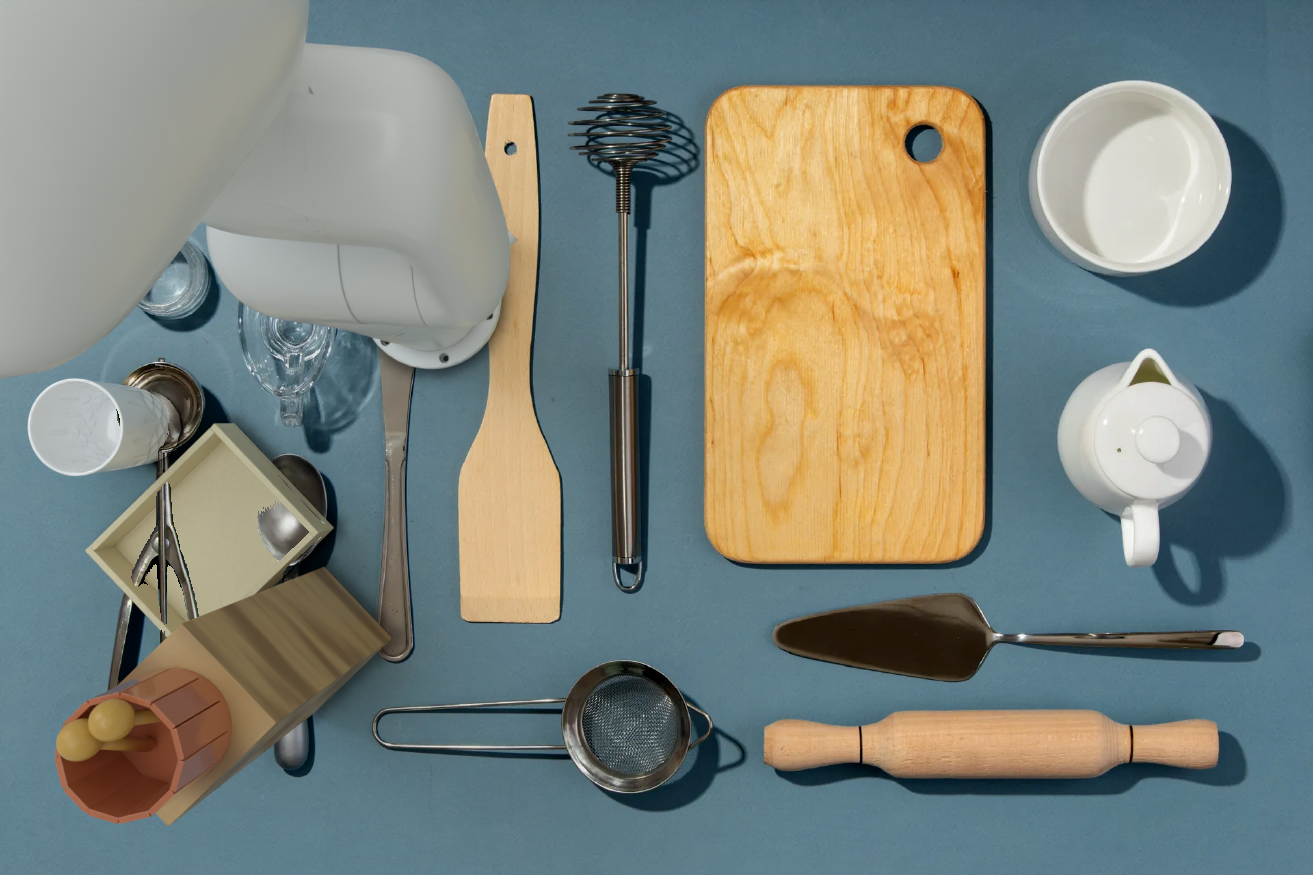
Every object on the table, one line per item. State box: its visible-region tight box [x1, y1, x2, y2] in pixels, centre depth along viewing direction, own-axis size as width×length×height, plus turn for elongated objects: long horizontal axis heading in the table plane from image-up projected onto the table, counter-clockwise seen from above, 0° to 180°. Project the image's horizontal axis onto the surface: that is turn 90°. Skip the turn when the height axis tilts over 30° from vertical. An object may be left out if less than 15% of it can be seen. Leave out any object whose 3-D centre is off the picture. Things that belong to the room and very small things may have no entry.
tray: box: [84, 422, 334, 638], centre depth 83 cm, size 16×13×4 cm
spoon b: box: [55, 719, 155, 762], centre depth 57 cm, size 2×2×8 cm
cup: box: [53, 668, 232, 825], centre depth 58 cm, size 8×8×6 cm
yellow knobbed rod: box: [88, 699, 162, 742], centre depth 57 cm, size 2×2×8 cm
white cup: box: [27, 377, 171, 477], centre depth 80 cm, size 8×8×10 cm
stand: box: [117, 566, 392, 827], centre depth 73 cm, size 10×9×24 cm
